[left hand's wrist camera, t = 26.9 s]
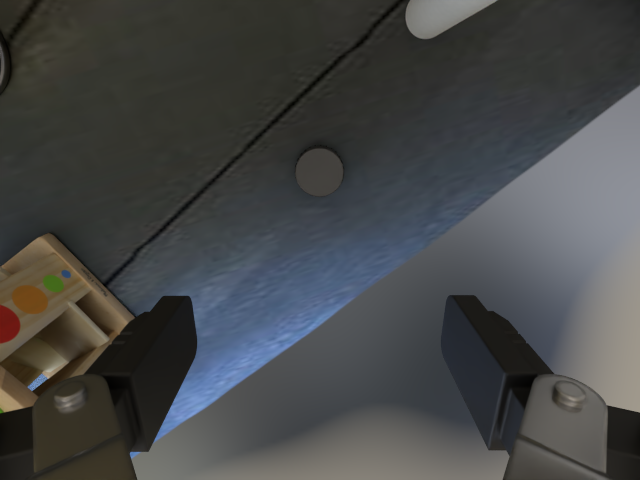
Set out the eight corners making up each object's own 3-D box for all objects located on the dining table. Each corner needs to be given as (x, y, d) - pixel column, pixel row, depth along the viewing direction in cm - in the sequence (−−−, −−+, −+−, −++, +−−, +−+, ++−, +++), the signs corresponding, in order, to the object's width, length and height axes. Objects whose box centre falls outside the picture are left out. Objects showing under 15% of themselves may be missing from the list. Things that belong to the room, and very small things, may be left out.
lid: (333, 137, 37) (334, 140, 35) (349, 182, 39) (351, 187, 37) (289, 154, 38) (287, 157, 36) (306, 198, 40) (305, 204, 37)
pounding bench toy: (187, 368, 47) (114, 514, 30) (108, 416, 50) (2, 573, 33) (49, 229, 41) (-142, 318, 24) (-33, 293, 43) (-255, 413, 27)
